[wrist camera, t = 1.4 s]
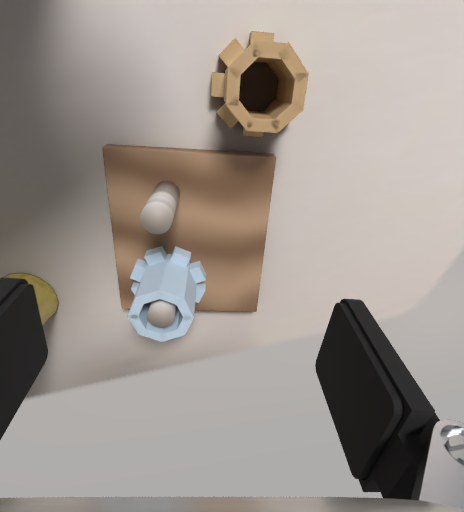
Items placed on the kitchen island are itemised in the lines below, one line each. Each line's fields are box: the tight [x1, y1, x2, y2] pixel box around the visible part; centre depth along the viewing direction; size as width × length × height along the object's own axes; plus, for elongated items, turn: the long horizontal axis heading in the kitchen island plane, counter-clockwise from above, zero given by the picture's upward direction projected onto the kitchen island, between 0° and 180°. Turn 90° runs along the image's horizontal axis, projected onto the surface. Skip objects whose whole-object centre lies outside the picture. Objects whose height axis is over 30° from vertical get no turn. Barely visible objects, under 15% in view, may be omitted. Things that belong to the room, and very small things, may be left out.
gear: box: [127, 246, 206, 342], centre depth 29 cm, size 7×7×6 cm
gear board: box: [103, 144, 276, 328], centre depth 28 cm, size 16×14×8 cm
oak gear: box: [211, 31, 309, 137], centre depth 23 cm, size 7×7×6 cm
